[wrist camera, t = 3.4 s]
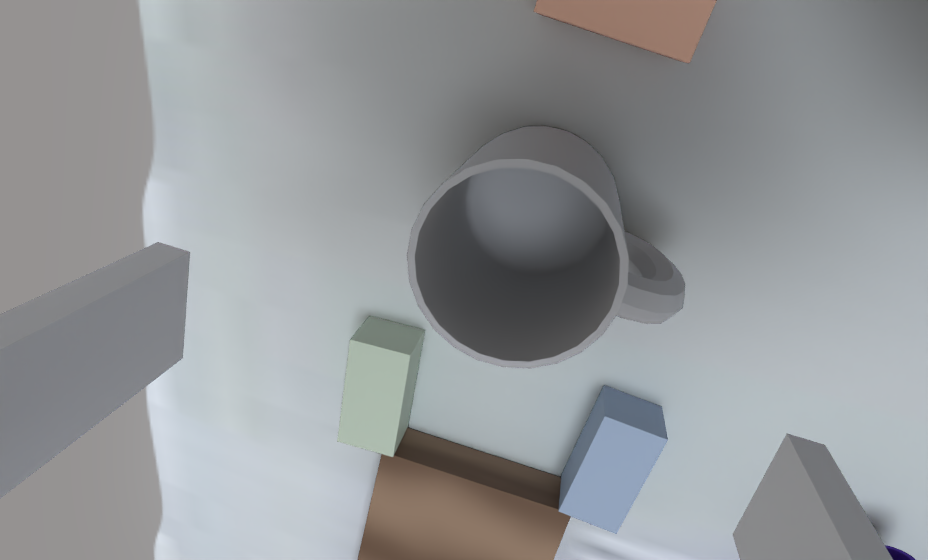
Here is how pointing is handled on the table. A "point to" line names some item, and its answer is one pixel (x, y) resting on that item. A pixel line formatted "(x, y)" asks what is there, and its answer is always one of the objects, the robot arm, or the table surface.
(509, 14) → the table surface
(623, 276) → the cup
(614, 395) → the brick blue
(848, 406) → the table surface
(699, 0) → the brick terracotta
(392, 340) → the brick sage
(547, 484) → the slab
